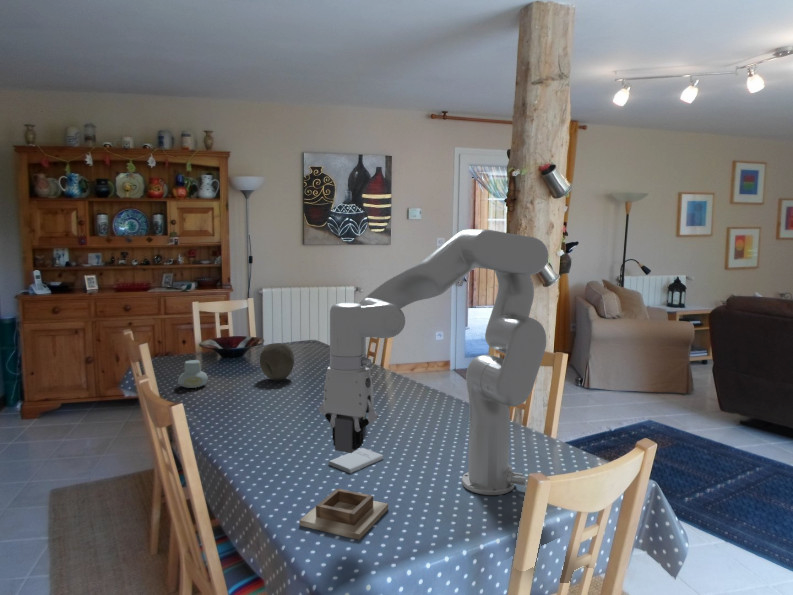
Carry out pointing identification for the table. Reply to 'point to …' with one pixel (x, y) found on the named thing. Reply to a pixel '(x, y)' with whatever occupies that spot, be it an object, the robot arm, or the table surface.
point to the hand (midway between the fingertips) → (347, 444)
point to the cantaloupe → (277, 361)
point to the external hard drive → (356, 460)
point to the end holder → (345, 514)
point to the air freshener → (192, 375)
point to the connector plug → (344, 434)
